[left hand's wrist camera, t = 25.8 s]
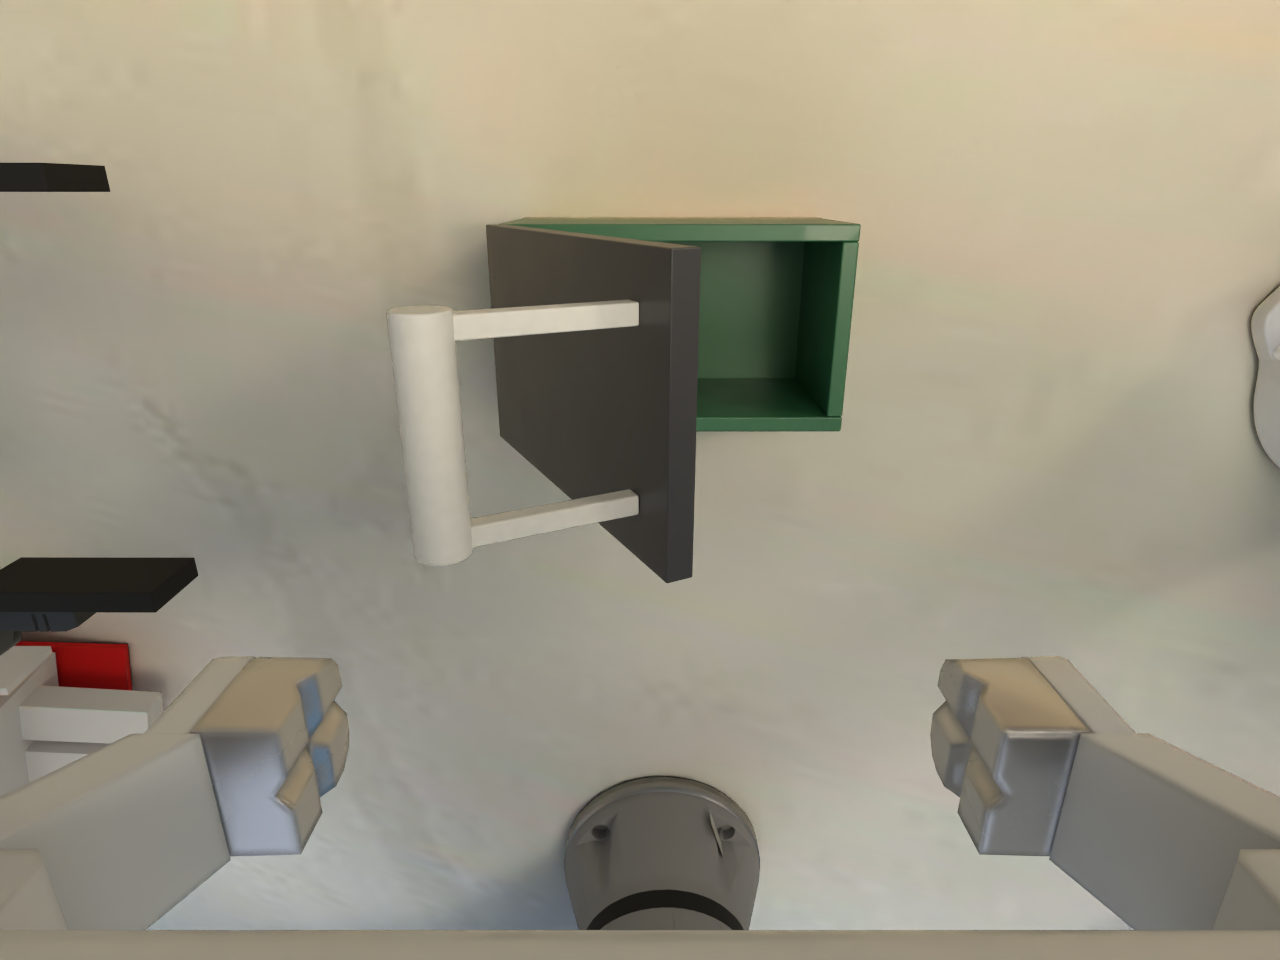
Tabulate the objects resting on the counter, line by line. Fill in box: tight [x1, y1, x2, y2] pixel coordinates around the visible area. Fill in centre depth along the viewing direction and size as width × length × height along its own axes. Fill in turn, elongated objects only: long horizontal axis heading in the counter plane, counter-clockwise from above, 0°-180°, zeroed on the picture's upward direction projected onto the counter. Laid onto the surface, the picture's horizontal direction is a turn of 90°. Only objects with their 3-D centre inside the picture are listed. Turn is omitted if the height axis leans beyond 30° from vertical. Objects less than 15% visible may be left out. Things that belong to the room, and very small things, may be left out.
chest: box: [499, 218, 860, 431], centre depth 42 cm, size 17×10×9 cm, turn 90°
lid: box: [386, 224, 701, 583], centre depth 28 cm, size 17×10×8 cm
